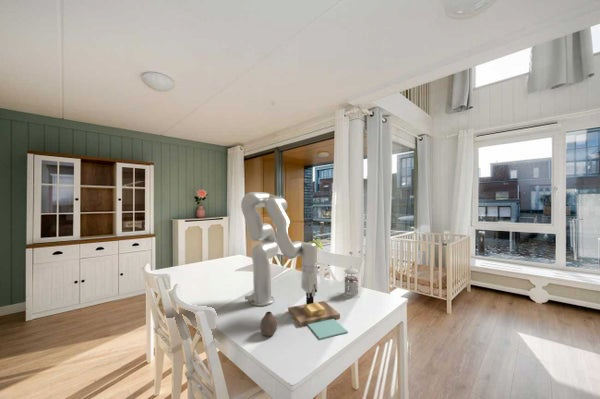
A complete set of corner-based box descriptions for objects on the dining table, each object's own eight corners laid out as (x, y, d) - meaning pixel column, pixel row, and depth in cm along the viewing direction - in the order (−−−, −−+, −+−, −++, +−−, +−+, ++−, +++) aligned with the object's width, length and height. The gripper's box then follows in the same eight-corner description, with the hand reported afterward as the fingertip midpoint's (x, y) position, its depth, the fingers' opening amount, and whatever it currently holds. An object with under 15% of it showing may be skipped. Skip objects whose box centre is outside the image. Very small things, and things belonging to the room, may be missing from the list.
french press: (347, 298, 137) (347, 253, 137) (338, 291, 148) (338, 249, 148) (363, 296, 140) (363, 252, 140) (353, 289, 151) (353, 248, 151)
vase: (261, 329, 106) (260, 309, 106) (277, 329, 106) (277, 308, 106) (259, 339, 99) (259, 317, 99) (277, 338, 99) (276, 316, 99)
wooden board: (300, 326, 108) (300, 322, 108) (288, 311, 122) (288, 307, 122) (340, 318, 115) (339, 314, 115) (324, 304, 130) (324, 301, 130)
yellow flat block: (311, 317, 112) (311, 311, 112) (304, 309, 120) (304, 304, 120) (325, 314, 115) (324, 308, 115) (317, 307, 122) (317, 302, 122)
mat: (319, 339, 98) (319, 338, 98) (307, 325, 109) (307, 324, 109) (347, 332, 103) (347, 331, 103) (333, 319, 114) (333, 318, 114)
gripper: (296, 265, 128) (297, 300, 128) (308, 273, 114) (309, 312, 114) (310, 263, 131) (310, 298, 131) (323, 271, 117) (323, 309, 117)
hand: (309, 304), depth 123 cm, fingers closed
